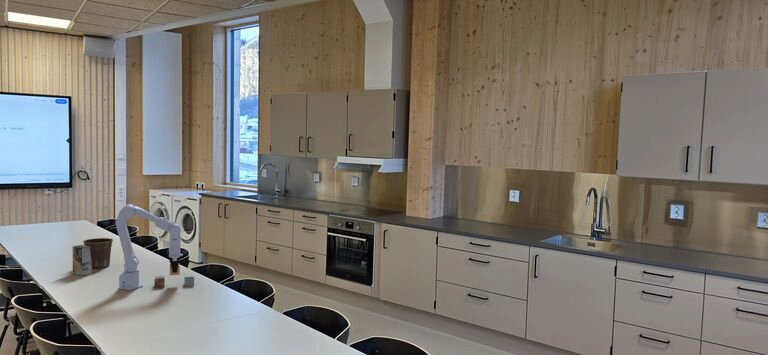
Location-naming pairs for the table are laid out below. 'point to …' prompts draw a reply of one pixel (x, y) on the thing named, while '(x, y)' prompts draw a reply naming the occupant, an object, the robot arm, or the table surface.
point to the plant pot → (100, 251)
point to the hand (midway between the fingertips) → (174, 271)
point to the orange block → (177, 270)
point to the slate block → (189, 280)
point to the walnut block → (159, 281)
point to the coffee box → (82, 260)
